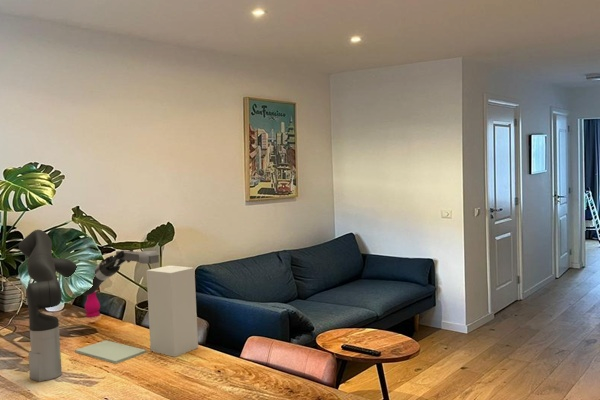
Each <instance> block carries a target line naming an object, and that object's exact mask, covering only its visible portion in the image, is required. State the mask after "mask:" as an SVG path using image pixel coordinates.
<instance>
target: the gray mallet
mask: <svg viewBox="0 0 600 400" xmlns="http://www.w3.org/2000/svg"><path fill="white" fill-rule="evenodd" d="M121 251H124V254H125V255H124V256H123V257H122V258H121V259H123V260H129V261H130V262H136V263H139V264H141V265H142V264H143V265H144V264H145V265H148V264H150V265H151V264H156V263H159V262H160V259H159V257H160V255H159V254H158V251H157V250H142V251H140V252H139V251H134V250H133V251H129V250H126V249H123V250H118V251H117V250H116V251H115V255H116V254H118V253H120V252H121Z"/></svg>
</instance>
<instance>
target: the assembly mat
mask: <svg viewBox="0 0 600 400" xmlns="http://www.w3.org/2000/svg"><path fill="white" fill-rule="evenodd" d="M74 352H75V354H80V355H83V356H87V357H90V358H93V359H97V360H100V361H104V362H108V363H111V364H115V365H116V364H119V363H121V362H125V361H127V360H131V359H133V358H136V357H138V356H142V355H143V354H147V349H143V348H138V347H135V346H131V345H127V344H123V343H119V342H115V341H111V340H107V339H105V340H102V341H99V342H96V343H92V344H89V345H85V346H83V347H80V348H76V349H75V350H74Z"/></svg>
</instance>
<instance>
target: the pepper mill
mask: <svg viewBox="0 0 600 400" xmlns="http://www.w3.org/2000/svg"><path fill="white" fill-rule="evenodd" d="M97 292H98V289H97V290H96V291H95V292H94V293H93V294H91V295H86V296H87V297H86V301H85V303H84V310H85V311H86V312H85V316H86V317H87V318H96V317H98V315H99V316H100V311H99V310H100V309H101V304H100V301H99V300H98V297H97ZM95 316H96V317H95Z"/></svg>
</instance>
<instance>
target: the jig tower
mask: <svg viewBox="0 0 600 400" xmlns="http://www.w3.org/2000/svg"><path fill="white" fill-rule="evenodd" d="M195 271H196V270H195V267H191V266H190V267H189V266H182V265H180V266H177V265H173V264H172V265H165V266H161V267H160V266H159V267H156V268H151V269H146V286H147V287H146V291H147V303H148V305H147V306H148V308H147V309H148V322H149V323H148V324H149V325H148V326H149V343H150V345H149V346H150V352H152V351H153V353H156V352H157V354H160V353H161V355H164V354H165V355H164V356H168V357H173V358H177V357H178V356H182V355H184V354H187V353H189V352H191V350H192V351H194V350H196V349H199V338H198V337H199V335H198V319H197V318H198V315H197V298H196V297H197V296H196V292H197V291H196V278H195V277H196V274H195V273H196V272H195ZM186 352H187V353H186ZM181 354H182V355H181Z"/></svg>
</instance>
